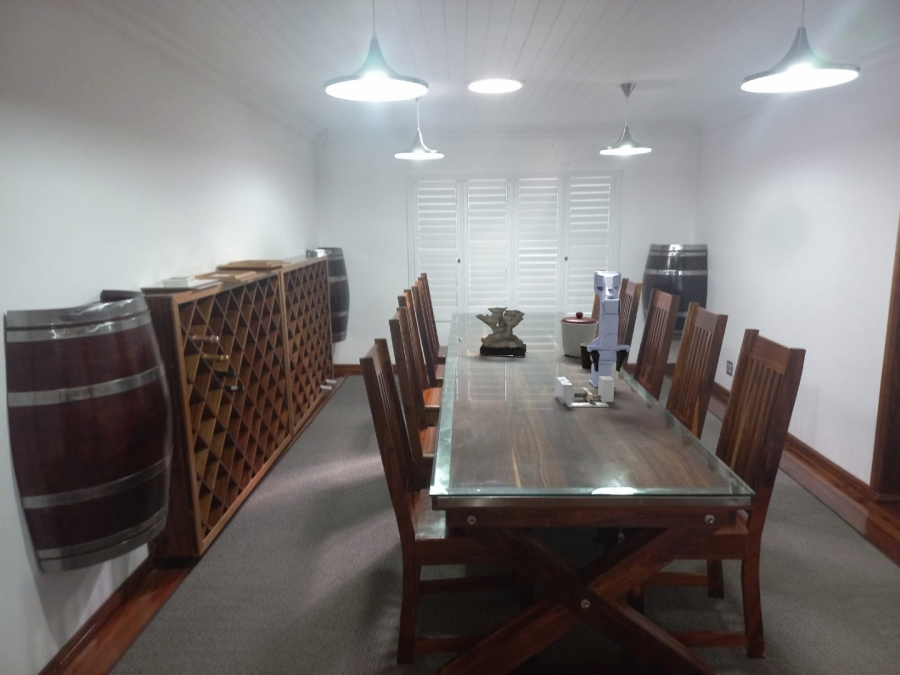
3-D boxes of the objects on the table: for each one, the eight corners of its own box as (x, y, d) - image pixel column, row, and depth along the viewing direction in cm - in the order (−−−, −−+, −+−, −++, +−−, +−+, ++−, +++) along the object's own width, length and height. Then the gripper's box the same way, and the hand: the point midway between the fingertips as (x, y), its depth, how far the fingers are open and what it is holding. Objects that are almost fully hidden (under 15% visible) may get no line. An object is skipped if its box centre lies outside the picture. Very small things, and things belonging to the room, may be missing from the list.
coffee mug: (585, 370, 253) (586, 347, 252) (575, 365, 262) (576, 343, 260) (609, 368, 256) (610, 346, 255) (599, 364, 265) (600, 342, 263)
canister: (569, 349, 296) (571, 308, 292) (603, 354, 285) (605, 311, 281) (551, 355, 282) (553, 311, 278) (586, 360, 271) (588, 315, 267)
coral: (472, 354, 282) (472, 310, 278) (479, 346, 302) (479, 305, 298) (524, 357, 277) (526, 312, 273) (528, 349, 297) (529, 306, 293)
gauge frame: (555, 395, 214) (555, 376, 213) (596, 395, 215) (597, 376, 213) (564, 407, 200) (565, 387, 199) (608, 406, 201) (610, 386, 200)
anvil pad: (571, 395, 213) (571, 387, 213) (585, 395, 213) (585, 387, 213) (581, 406, 200) (581, 398, 199) (596, 406, 200) (596, 398, 200)
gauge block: (589, 397, 211) (590, 376, 210) (608, 397, 212) (610, 376, 210) (593, 402, 207) (594, 379, 205) (613, 401, 207) (614, 379, 205)
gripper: (592, 335, 201) (590, 374, 203) (633, 335, 201) (631, 373, 204) (586, 331, 208) (584, 369, 210) (626, 331, 208) (624, 369, 211)
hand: (607, 371), depth 207 cm, fingers open, 7 cm apart
